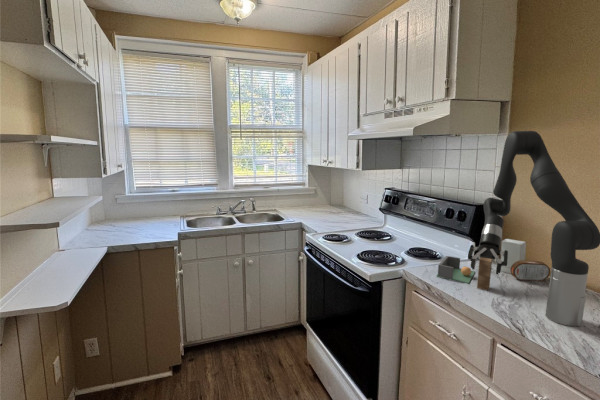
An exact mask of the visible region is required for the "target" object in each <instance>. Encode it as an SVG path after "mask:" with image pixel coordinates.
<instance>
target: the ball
mask: <svg viewBox="0 0 600 400" xmlns="http://www.w3.org/2000/svg"><path fill="white" fill-rule="evenodd" d="M460 269H461V273H462V274H463V275H465V276H469V275H470V274H471V271H472V270H471V269H472V268H471V267H468V266H463V267H461V268H460Z"/></svg>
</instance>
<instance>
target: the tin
mask: <svg viewBox="0 0 600 400" xmlns="http://www.w3.org/2000/svg"><path fill="white" fill-rule="evenodd" d="M510 271H511V276H512V277H514V278H516V279H517V280H519V281H528V282H529V281H531V282H542V281H546V280H547V279H548V278H550V275H551V268H550V267H549V266H548V265H547V264H546V263H545V262H543V261H538V260H537V261H536V260H525V261H523V260H520V261H517V262H515V263H514V264H513V265H512V266H511V269H510Z"/></svg>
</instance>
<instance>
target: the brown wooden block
mask: <svg viewBox="0 0 600 400" xmlns="http://www.w3.org/2000/svg"><path fill="white" fill-rule="evenodd" d="M478 260H479V263H478V273H477V282H476V289H478V290H479V289H480V290H484V291H489V289H490V285H491V274H492V265H493V263H492V262H493V259H489V258H483V257H481V258H480V259H478Z"/></svg>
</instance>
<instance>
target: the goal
mask: <svg viewBox="0 0 600 400" xmlns="http://www.w3.org/2000/svg"><path fill="white" fill-rule="evenodd" d="M460 267H461V258H460V257H455V256H450V255H446V256H445V257H444V258H443V259H442V261H440V262H439V264H438V268H437V274H436V276H437V277H436V276H435V277H436V278H441V277H442V278H441V279H445V278H446V280H450V281H454V280H455V281H454V282H459V281H460V283H465V284H470V282H471V280H472V279H473V276H474V275H475V273H476V272H475V271H474V270H471V274H470V275H469V276H465V275H463V274H462V273H461V269H462V268H460Z"/></svg>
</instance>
